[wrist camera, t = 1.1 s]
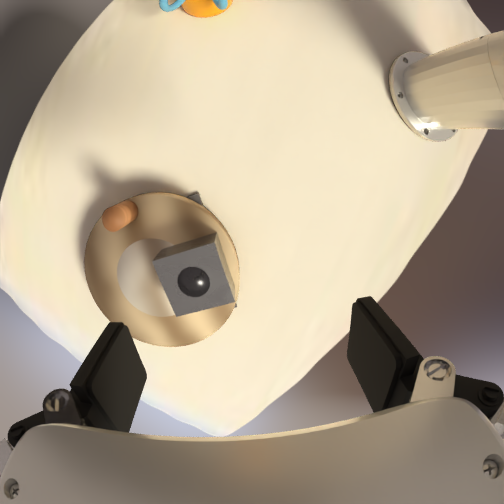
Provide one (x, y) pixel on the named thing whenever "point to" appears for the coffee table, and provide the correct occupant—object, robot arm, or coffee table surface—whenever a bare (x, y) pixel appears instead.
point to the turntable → (151, 267)
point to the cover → (195, 275)
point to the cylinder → (198, 6)
